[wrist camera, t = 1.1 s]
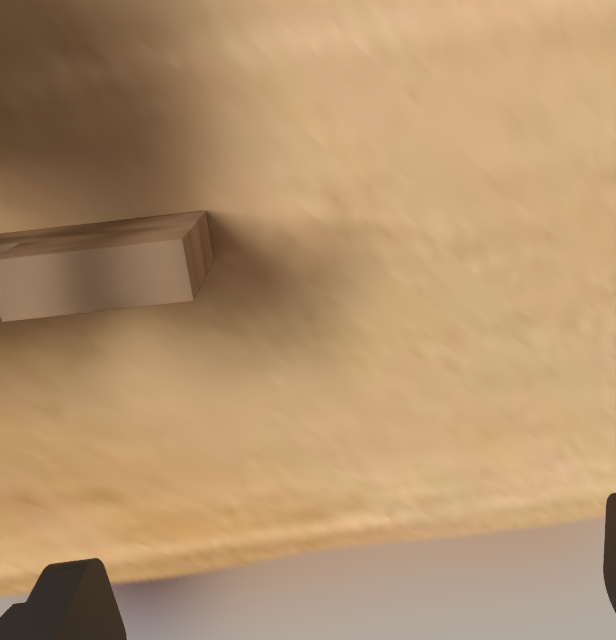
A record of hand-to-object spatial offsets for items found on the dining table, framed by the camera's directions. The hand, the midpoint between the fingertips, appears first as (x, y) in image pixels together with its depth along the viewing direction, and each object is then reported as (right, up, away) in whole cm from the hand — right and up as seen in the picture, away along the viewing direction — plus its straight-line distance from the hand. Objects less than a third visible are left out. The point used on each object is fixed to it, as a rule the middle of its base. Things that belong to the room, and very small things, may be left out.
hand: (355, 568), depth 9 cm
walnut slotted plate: (-19, +8, +26) cm, 33 cm away
